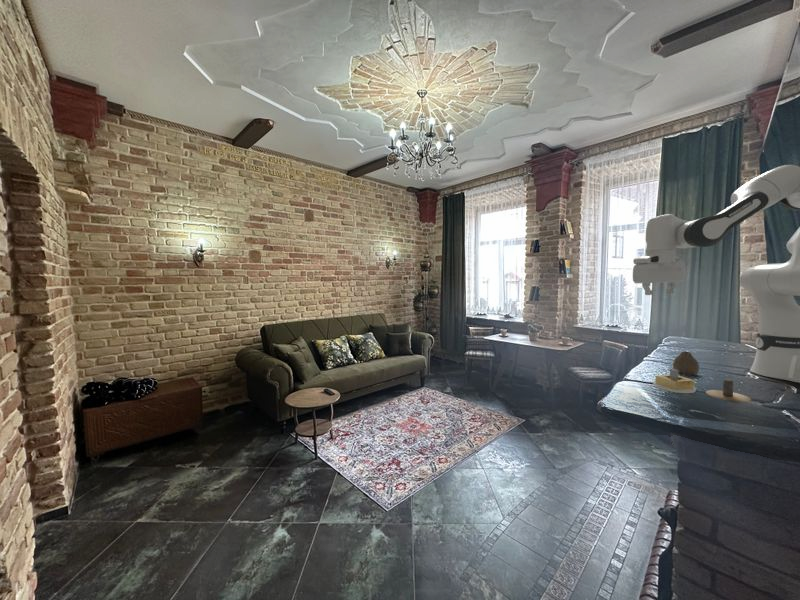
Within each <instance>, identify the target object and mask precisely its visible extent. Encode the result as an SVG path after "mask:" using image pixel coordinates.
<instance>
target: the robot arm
mask: <svg viewBox="0 0 800 600" xmlns="http://www.w3.org/2000/svg"><path fill="white" fill-rule="evenodd" d="M776 203H779V204H780V205H781V206H782V207H784V208H785V209H788V210H790V211H791V210H792V211H800V166H798V165H795V164H784V165H783V164H782V165H780V166H778V167H775V168H773V169H769V170H768V171H766V172H764V173H762V174H760V175H758V176H756V177H754V178H752V179H750V180H749V181H747V182H745V183H744V184H743V185H741V186H740V187H738V188H737V189H736V190H734V192H732V194H731V195H730V204H731V205H729V206H727V207H726V208H725V209H723V210H721V211H720V212H718V213H717V214H715V215H708V216H704V217H701V218H698V219H694V220H690V221H689V220H685V219H681V218H680V217H678V216H676V215H674V214H673V213H666V214H662V215H658V216H655V217H652V218H650V219H649V220H648V221H647V224H646V228H645V229H646V230H645V243H646V247H645V253H644V254H643V255H640V256H638V257H635V258H634V259H633V262H632V263H633V264H634V266H633V268H632V281H633V282H634V284H641V286H642V288H643V290H644V295H645V296H652V295H653V290H651V288H650V286H651V284H656V283H657V284H659V283H668V285H669V286H668V288H666V289H665V291H666V292H665V294H667V295H673V294H674V293H675V289H676V287H677V285H678V283H679V282H680V283H681V282H685V281H686V279H687V270H686V265H685V262H684V261H685V260H684V259H683V258H681V257H676V248H677V249H691V248H706V247H707V248H708V247H713V246H714V245H717V244H719V243H720V242H721V241H722V240H723V239H724V238H725V237H726V235H727V234H728V233H729V232H730V231H731V230H733V228H735V227H737V226H738V225H740V224H741V223H743V222H744V221H746V220H748V219H749V218H751V217H752V216H754V215H755V214H757V213H759V212H761V211H763V210H765V209H768V208H770V207H771V206H773V205H775V204H776ZM785 246H786V249H787V251H788V252H789V253H790V254H791V256H790V259H789V260H788V261H786V262H782V263H781V262H780V263H764V264H760V265H754V266H750V267H748V268H746V269H744V271H742V273H741V275H740V277H739V283H740V286H741V287H742V289H744V290H746V291H747V292H748V293H749V294H750V295H751V297H752V299H753V300H754V302H755V305H756V307H757V311H758V332H757V333H756V339H755V347H756V352H755V356H754V361H753V362H752V365H751V367H750V369H749V371H750V372H752V373H754V374H757V375H759V376H762V377H763V376H764V377H769V378H774V379H779V380H785V381H790V382H794V383H798V384H800V305H799V304H798V303H797V301H796V300H795V298H794V296H796V297H800V226H799V227H798V228H797V230H796V231H795V232H794V233H793V235H792V236H791V237H790V239H789V240H788V241H787V242H786V245H785Z"/></svg>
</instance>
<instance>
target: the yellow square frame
mask: <svg viewBox="0 0 800 600" xmlns="http://www.w3.org/2000/svg"><path fill="white" fill-rule="evenodd" d="M655 383H656V384H659V385H662V386H665V387H668V388H671V389H674V390H682V389H693V388H694V387H695V380H694V379H691V378H688V377H685V376H680V375H678V380H673V379H670V373H668V374H661V375H660V374H658V375H655Z"/></svg>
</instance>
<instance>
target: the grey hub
mask: <svg viewBox="0 0 800 600" xmlns="http://www.w3.org/2000/svg"><path fill="white" fill-rule="evenodd" d="M678 371H679V370H676V369H673V368H670V369H669V374H670V379H673V380H678V376H679V374H678ZM652 385H653V386H654V387H655V388H656V389H660V390H662V391H667V392H671V393H677V394H694V393H695V392H696V391H697V389H696V387H695V386H694V388H693V389H682V390H674V389H671V388H668V387H665V386H662V385H659V384H656V383H655V381H654V380H653V382H652Z"/></svg>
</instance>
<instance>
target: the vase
mask: <svg viewBox="0 0 800 600" xmlns="http://www.w3.org/2000/svg"><path fill="white" fill-rule="evenodd" d="M699 364H700V363H699V362H698V360H697V359H696V358H695V357H694V356H693V354H692V353H691V351H681V352H680V354H678V355H677V356H676V357H675V358H674V360H673V363H672V369H676V370H679V371H678V375H686V376H687V375H689V376H698V374H699V372H700V365H699Z"/></svg>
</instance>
